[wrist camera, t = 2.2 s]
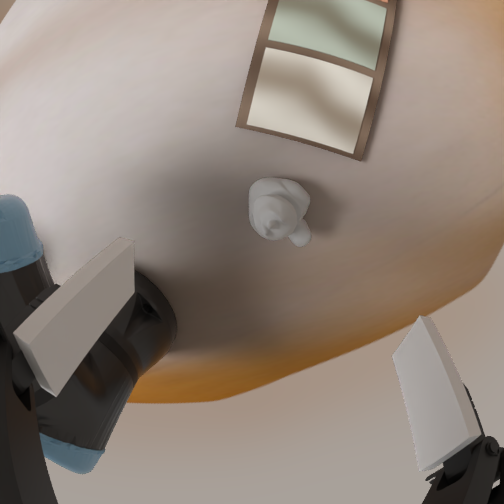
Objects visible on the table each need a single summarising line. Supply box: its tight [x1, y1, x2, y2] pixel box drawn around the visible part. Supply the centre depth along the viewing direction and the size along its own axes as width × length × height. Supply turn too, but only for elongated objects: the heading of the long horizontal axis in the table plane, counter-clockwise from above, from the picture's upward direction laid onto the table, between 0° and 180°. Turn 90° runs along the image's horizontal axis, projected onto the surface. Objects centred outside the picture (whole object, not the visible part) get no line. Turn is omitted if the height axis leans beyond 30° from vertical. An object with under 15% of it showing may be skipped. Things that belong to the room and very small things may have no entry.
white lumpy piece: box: [249, 177, 311, 247], centre depth 21 cm, size 5×7×8 cm
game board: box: [235, 0, 397, 161], centre depth 16 cm, size 24×11×1 cm, turn 167°
